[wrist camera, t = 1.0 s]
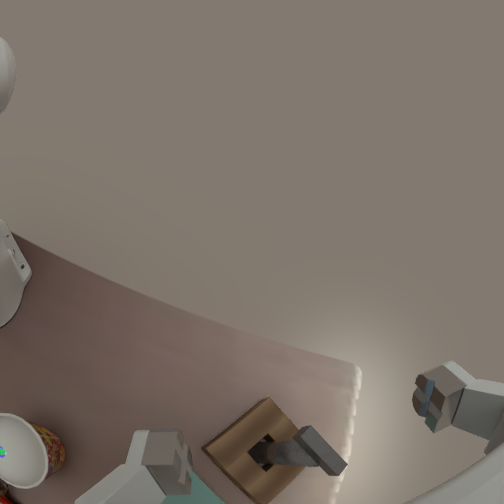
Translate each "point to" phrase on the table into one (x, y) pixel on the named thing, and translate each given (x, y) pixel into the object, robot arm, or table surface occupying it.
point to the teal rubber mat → (195, 494)
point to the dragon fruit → (1, 498)
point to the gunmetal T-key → (300, 452)
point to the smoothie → (27, 452)
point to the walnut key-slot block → (244, 438)
